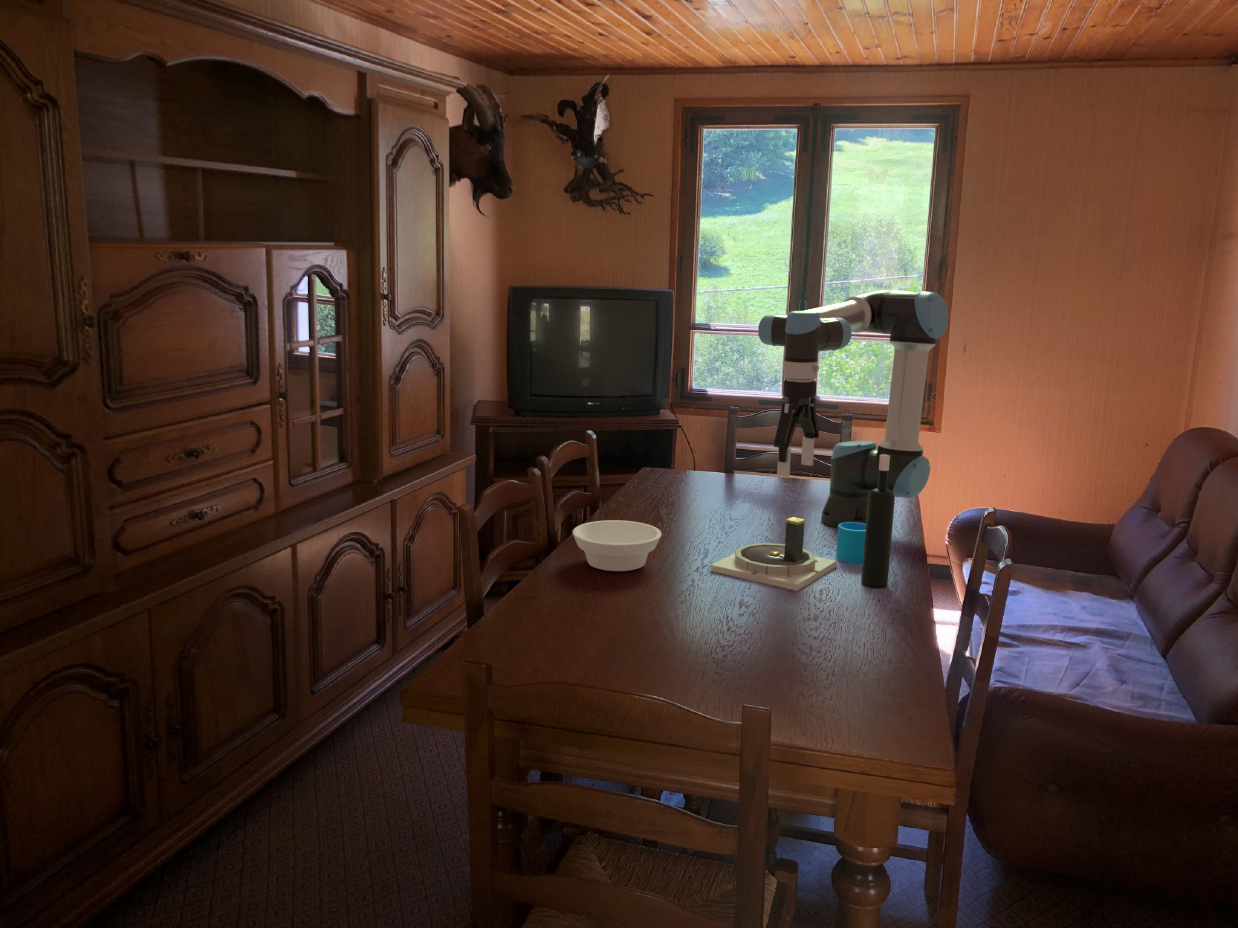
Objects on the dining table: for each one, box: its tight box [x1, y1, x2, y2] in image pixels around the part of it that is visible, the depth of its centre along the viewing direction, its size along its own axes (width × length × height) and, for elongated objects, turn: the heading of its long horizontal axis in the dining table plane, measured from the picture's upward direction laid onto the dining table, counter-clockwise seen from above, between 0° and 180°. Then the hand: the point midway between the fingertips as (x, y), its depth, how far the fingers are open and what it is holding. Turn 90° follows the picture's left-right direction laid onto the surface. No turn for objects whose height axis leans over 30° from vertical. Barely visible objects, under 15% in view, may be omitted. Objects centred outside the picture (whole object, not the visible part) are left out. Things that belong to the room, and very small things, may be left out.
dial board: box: [710, 542, 837, 592], centre depth 227 cm, size 22×22×4 cm
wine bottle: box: [860, 454, 896, 589], centre depth 215 cm, size 6×6×30 cm
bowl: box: [572, 519, 663, 572], centre depth 227 cm, size 21×21×8 cm
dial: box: [745, 516, 806, 566], centre depth 226 cm, size 14×14×11 cm
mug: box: [835, 522, 866, 564], centre depth 238 cm, size 12×8×8 cm
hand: (795, 470), depth 224 cm, fingers open, 13 cm apart
